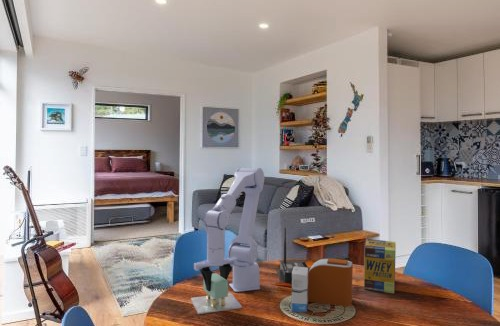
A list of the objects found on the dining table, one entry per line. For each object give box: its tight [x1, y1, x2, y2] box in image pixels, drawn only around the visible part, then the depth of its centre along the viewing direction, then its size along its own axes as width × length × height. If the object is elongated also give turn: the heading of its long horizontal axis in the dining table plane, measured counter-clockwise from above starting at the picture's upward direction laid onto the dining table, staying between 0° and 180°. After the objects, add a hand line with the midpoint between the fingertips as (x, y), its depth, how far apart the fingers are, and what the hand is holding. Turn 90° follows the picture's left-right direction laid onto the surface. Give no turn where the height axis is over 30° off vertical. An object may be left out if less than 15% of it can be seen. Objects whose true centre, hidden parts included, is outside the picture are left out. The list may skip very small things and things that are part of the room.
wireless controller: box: [275, 227, 310, 283], centre depth 151 cm, size 20×14×17 cm
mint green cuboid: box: [202, 272, 229, 299], centre depth 120 cm, size 5×9×5 cm, turn 30°
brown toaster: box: [308, 257, 353, 308], centre depth 124 cm, size 15×8×14 cm, turn 71°
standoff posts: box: [206, 293, 225, 307], centre depth 120 cm, size 4×8×2 cm, turn 20°
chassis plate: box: [190, 292, 243, 315], centre depth 120 cm, size 14×12×1 cm
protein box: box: [363, 238, 396, 294], centre depth 139 cm, size 10×15×16 cm
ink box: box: [291, 266, 309, 313], centre depth 118 cm, size 8×5×12 cm, turn 168°
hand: (215, 288), depth 120 cm, fingers closed on mint green cuboid, 4 cm apart
